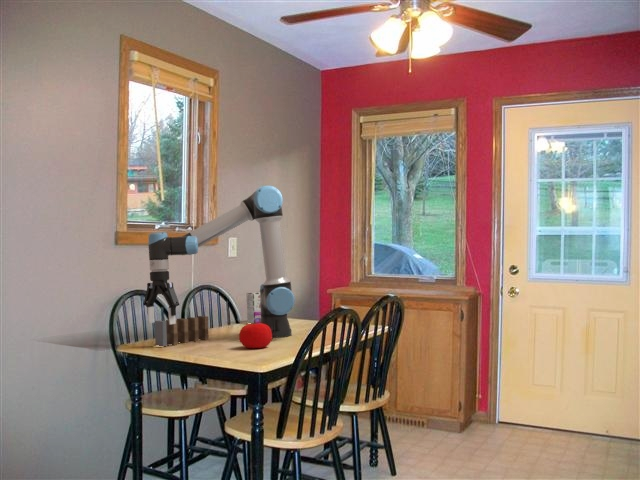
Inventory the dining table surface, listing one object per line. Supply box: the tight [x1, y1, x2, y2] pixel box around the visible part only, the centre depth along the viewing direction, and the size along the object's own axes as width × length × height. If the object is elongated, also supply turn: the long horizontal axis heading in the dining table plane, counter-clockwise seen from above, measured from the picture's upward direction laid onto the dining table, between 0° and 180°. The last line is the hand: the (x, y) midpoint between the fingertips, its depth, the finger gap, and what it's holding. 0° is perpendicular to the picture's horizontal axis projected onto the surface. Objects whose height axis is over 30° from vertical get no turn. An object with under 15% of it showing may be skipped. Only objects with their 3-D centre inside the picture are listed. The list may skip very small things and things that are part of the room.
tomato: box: [238, 321, 273, 349], centre depth 243 cm, size 11×13×10 cm
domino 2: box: [165, 319, 179, 346], centre depth 258 cm, size 5×2×10 cm, turn 51°
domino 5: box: [196, 315, 210, 341], centre depth 271 cm, size 5×2×10 cm, turn 51°
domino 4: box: [186, 316, 200, 343], centre depth 266 cm, size 5×2×10 cm, turn 51°
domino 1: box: [154, 320, 167, 346], centre depth 254 cm, size 5×2×10 cm, turn 51°
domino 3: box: [176, 318, 189, 344], centre depth 262 cm, size 5×2×10 cm, turn 51°
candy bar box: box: [246, 291, 261, 324], centre depth 326 cm, size 11×5×16 cm, turn 148°
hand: (161, 323), depth 254 cm, fingers open, 13 cm apart
